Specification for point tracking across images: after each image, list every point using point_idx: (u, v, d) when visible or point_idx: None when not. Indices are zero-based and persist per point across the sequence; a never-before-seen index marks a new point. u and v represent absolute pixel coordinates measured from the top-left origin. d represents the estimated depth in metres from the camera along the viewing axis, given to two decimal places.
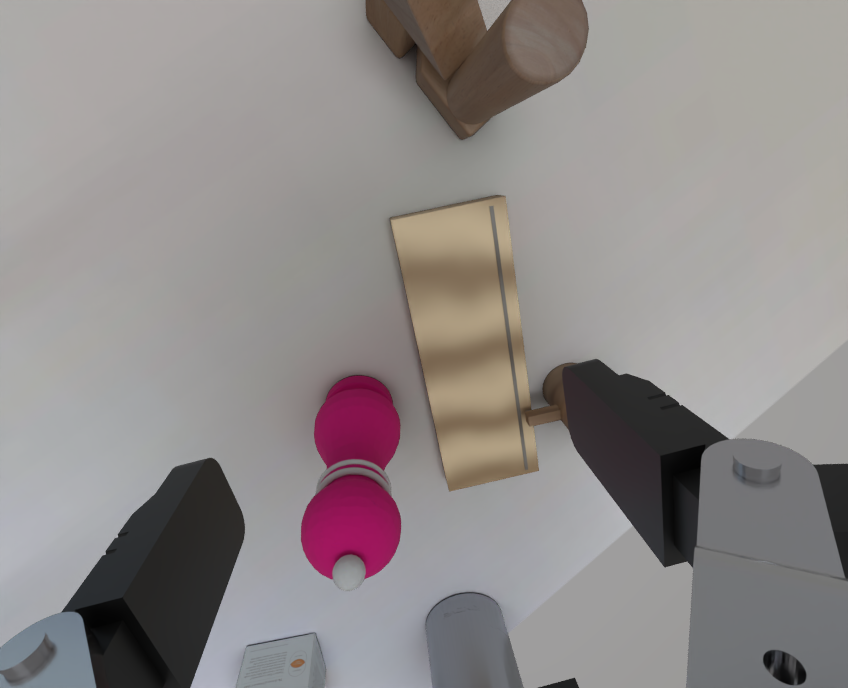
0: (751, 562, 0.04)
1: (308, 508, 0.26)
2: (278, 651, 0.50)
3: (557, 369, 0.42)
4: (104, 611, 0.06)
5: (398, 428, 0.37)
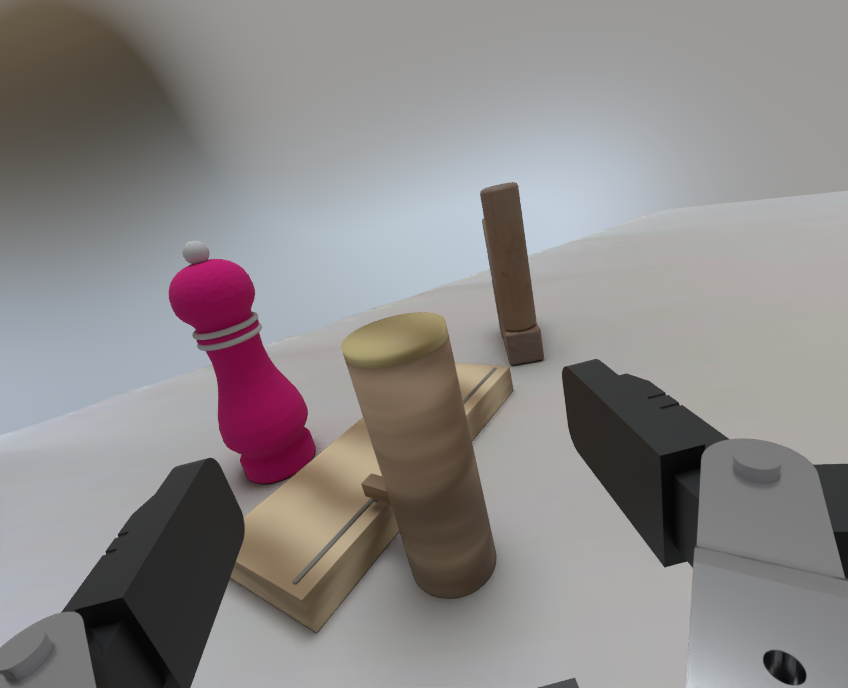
0: (751, 562, 0.04)
1: None
2: None
3: None
4: (104, 611, 0.06)
5: (284, 414, 0.36)
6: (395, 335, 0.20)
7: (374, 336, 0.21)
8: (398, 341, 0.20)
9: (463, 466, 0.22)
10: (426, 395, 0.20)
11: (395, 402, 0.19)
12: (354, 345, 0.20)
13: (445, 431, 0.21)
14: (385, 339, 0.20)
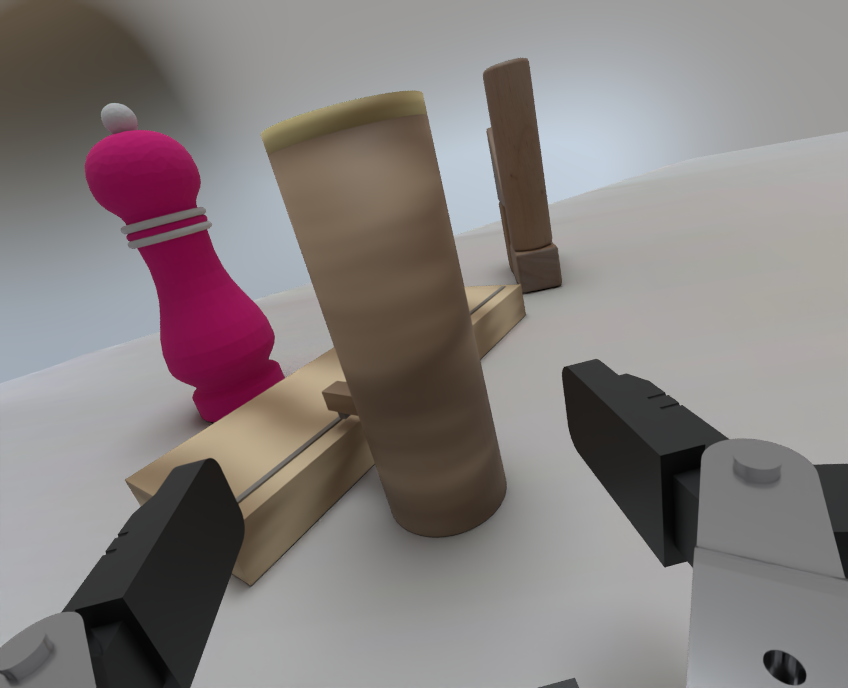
0: (751, 562, 0.04)
1: None
2: None
3: None
4: (104, 611, 0.06)
5: (241, 333, 0.29)
6: None
7: None
8: None
9: (454, 329, 0.14)
10: (391, 194, 0.12)
11: (341, 204, 0.12)
12: None
13: (424, 263, 0.13)
14: None
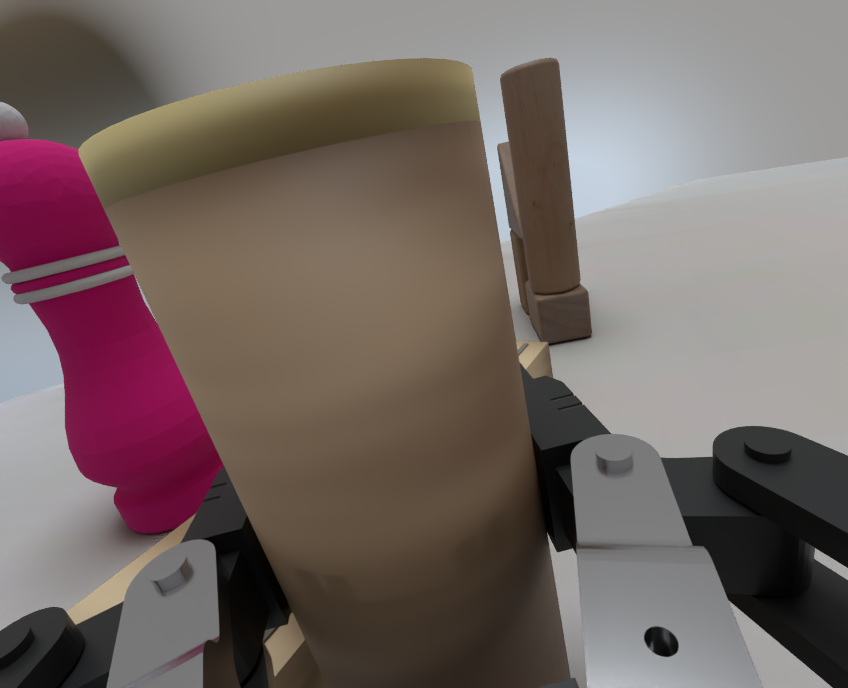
0: (622, 548, 0.05)
1: None
2: None
3: None
4: (225, 541, 0.07)
5: (176, 418, 0.21)
6: None
7: None
8: None
9: (525, 569, 0.07)
10: (403, 322, 0.05)
11: (271, 349, 0.05)
12: None
13: (473, 463, 0.06)
14: None
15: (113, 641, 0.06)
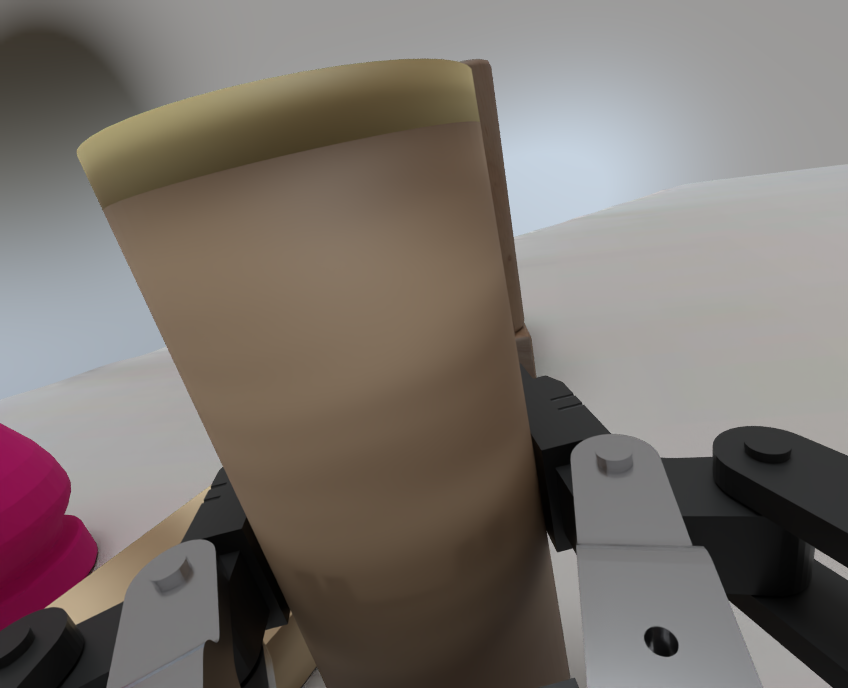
0: (622, 548, 0.05)
1: None
2: None
3: None
4: (225, 541, 0.07)
5: None
6: None
7: None
8: None
9: (525, 570, 0.07)
10: (403, 323, 0.05)
11: (269, 350, 0.05)
12: None
13: (473, 464, 0.06)
14: None
15: (113, 641, 0.06)
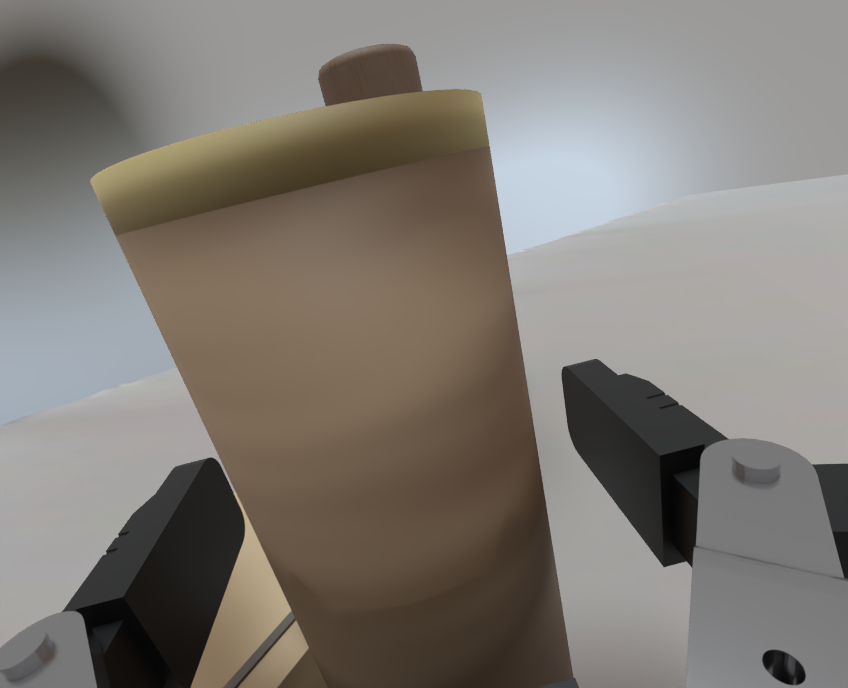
0: (750, 562, 0.04)
1: None
2: None
3: None
4: (105, 611, 0.06)
5: None
6: None
7: None
8: None
9: (532, 587, 0.07)
10: (414, 350, 0.05)
11: (282, 377, 0.05)
12: None
13: (482, 486, 0.06)
14: None
15: None
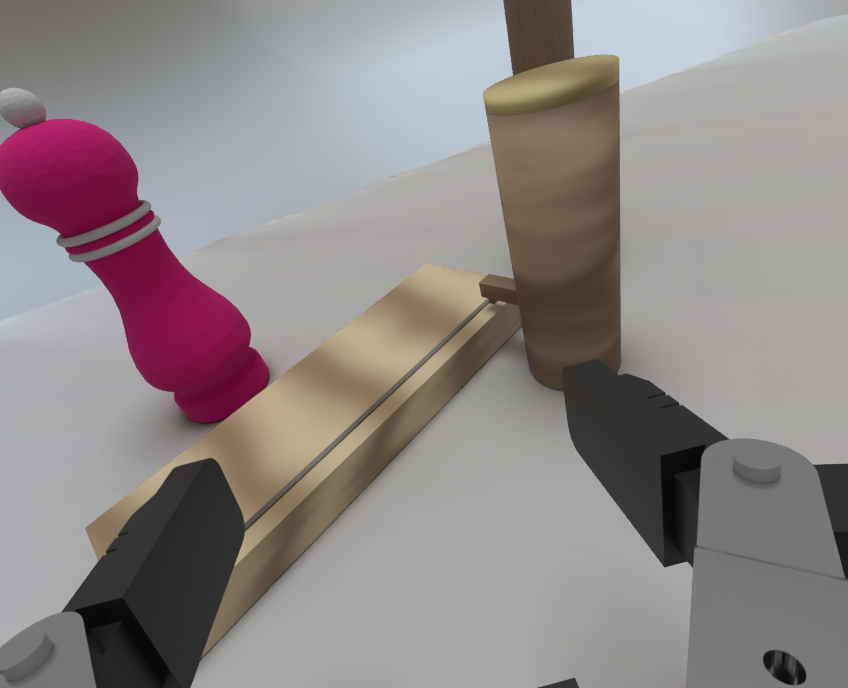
0: (751, 562, 0.04)
1: None
2: None
3: None
4: (104, 611, 0.06)
5: (205, 346, 0.27)
6: (552, 76, 0.17)
7: (524, 82, 0.17)
8: (559, 79, 0.16)
9: (611, 249, 0.19)
10: (588, 151, 0.16)
11: (549, 159, 0.17)
12: (500, 92, 0.17)
13: (600, 202, 0.18)
14: (540, 81, 0.17)
15: None
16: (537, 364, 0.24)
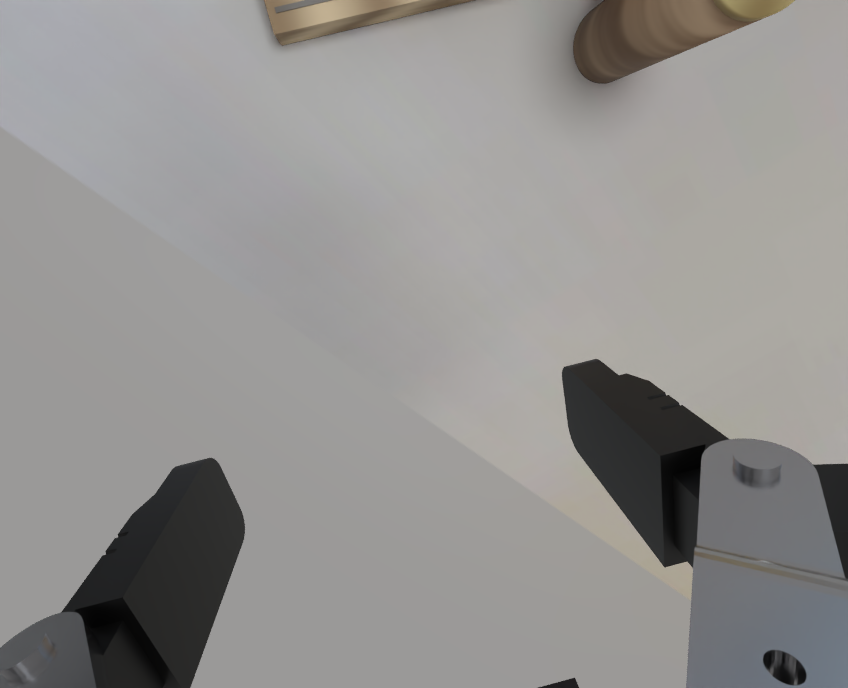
0: (751, 562, 0.04)
1: None
2: None
3: None
4: (104, 611, 0.06)
5: None
6: None
7: None
8: None
9: (666, 56, 0.27)
10: (703, 30, 0.22)
11: (686, 10, 0.22)
12: None
13: (684, 45, 0.24)
14: None
15: None
16: (582, 35, 0.31)
